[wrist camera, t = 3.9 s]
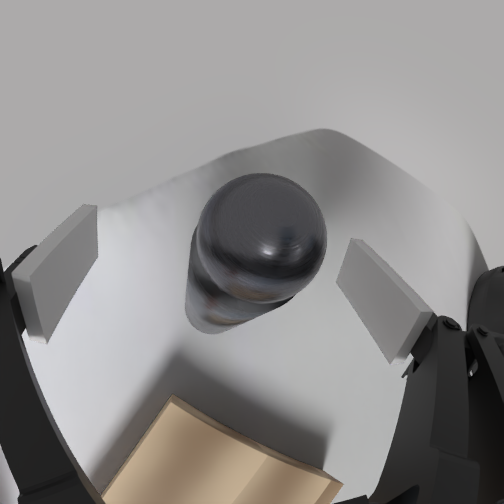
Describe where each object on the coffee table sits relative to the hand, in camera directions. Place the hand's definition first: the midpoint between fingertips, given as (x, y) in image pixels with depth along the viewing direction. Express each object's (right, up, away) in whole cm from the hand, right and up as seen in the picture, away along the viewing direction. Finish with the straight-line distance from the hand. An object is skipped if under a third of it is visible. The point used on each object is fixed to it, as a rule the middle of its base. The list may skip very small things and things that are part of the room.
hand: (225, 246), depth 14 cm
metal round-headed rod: (-1, -4, +4) cm, 6 cm away
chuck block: (-2, -17, -1) cm, 17 cm away
